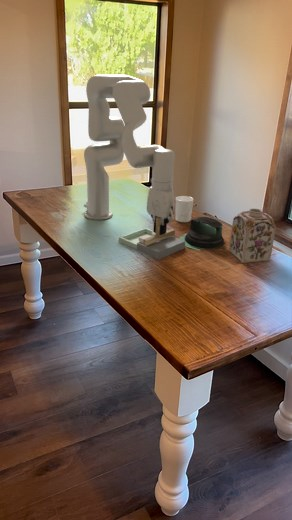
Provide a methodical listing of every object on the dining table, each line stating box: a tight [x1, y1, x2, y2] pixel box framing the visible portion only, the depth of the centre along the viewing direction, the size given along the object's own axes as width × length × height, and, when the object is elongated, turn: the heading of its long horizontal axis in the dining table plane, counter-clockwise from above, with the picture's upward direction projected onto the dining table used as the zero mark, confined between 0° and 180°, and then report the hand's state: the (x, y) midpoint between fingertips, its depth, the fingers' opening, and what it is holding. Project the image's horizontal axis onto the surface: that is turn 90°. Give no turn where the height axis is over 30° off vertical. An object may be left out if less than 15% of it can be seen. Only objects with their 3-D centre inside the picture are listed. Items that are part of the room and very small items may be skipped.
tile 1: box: [139, 235, 151, 243], centre depth 160 cm, size 4×4×2 cm
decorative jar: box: [228, 208, 277, 264], centre depth 155 cm, size 12×12×18 cm
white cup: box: [174, 195, 195, 223], centre depth 189 cm, size 8×8×10 cm
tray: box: [118, 227, 153, 251], centre depth 167 cm, size 10×15×2 cm, turn 136°
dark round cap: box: [178, 216, 225, 251], centre depth 168 cm, size 20×20×9 cm
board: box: [136, 235, 186, 260], centre depth 161 cm, size 11×15×3 cm
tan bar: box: [143, 217, 176, 246], centre depth 159 cm, size 2×16×9 cm, turn 137°
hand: (159, 232), depth 159 cm, fingers closed on tan bar, 2 cm apart
